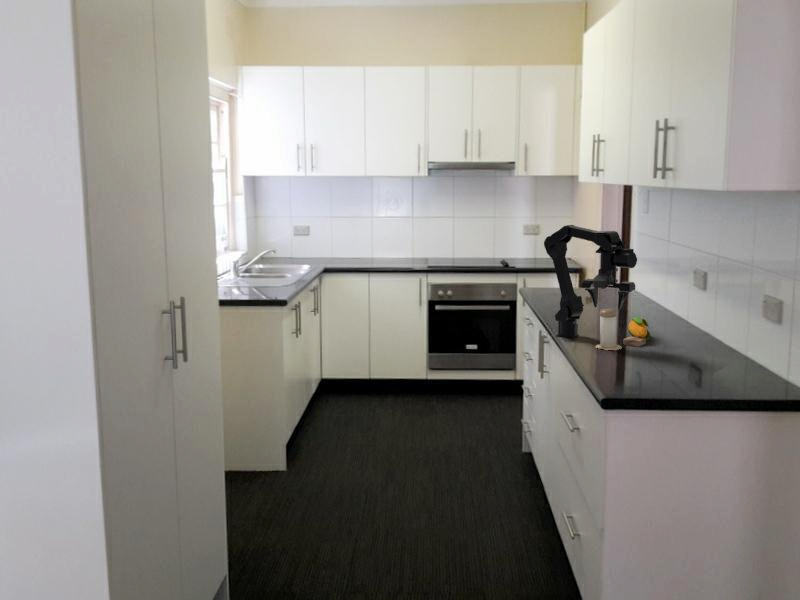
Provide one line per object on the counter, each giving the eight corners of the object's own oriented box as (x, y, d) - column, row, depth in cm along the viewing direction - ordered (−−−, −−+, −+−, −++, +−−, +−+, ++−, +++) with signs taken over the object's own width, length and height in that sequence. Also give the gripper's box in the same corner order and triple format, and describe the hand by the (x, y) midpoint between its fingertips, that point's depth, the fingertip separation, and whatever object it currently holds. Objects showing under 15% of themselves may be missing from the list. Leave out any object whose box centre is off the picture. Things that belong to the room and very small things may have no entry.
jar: (597, 346, 297) (597, 312, 293) (603, 341, 301) (603, 307, 297) (612, 349, 293) (612, 314, 289) (619, 344, 297) (619, 309, 294)
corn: (645, 313, 319) (654, 323, 300) (646, 333, 321) (654, 344, 301) (626, 315, 321) (633, 324, 301) (626, 334, 322) (633, 345, 302)
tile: (623, 344, 302) (623, 339, 302) (629, 341, 307) (630, 336, 306) (639, 346, 298) (639, 341, 298) (645, 343, 303) (645, 338, 303)
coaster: (591, 348, 296) (591, 347, 296) (602, 344, 303) (602, 342, 303) (615, 351, 291) (615, 350, 291) (625, 347, 298) (625, 345, 298)
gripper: (574, 266, 300) (574, 309, 302) (623, 269, 288) (622, 314, 291) (588, 263, 308) (587, 305, 311) (636, 266, 297) (635, 309, 299)
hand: (607, 308), depth 303 cm, fingers open, 9 cm apart
